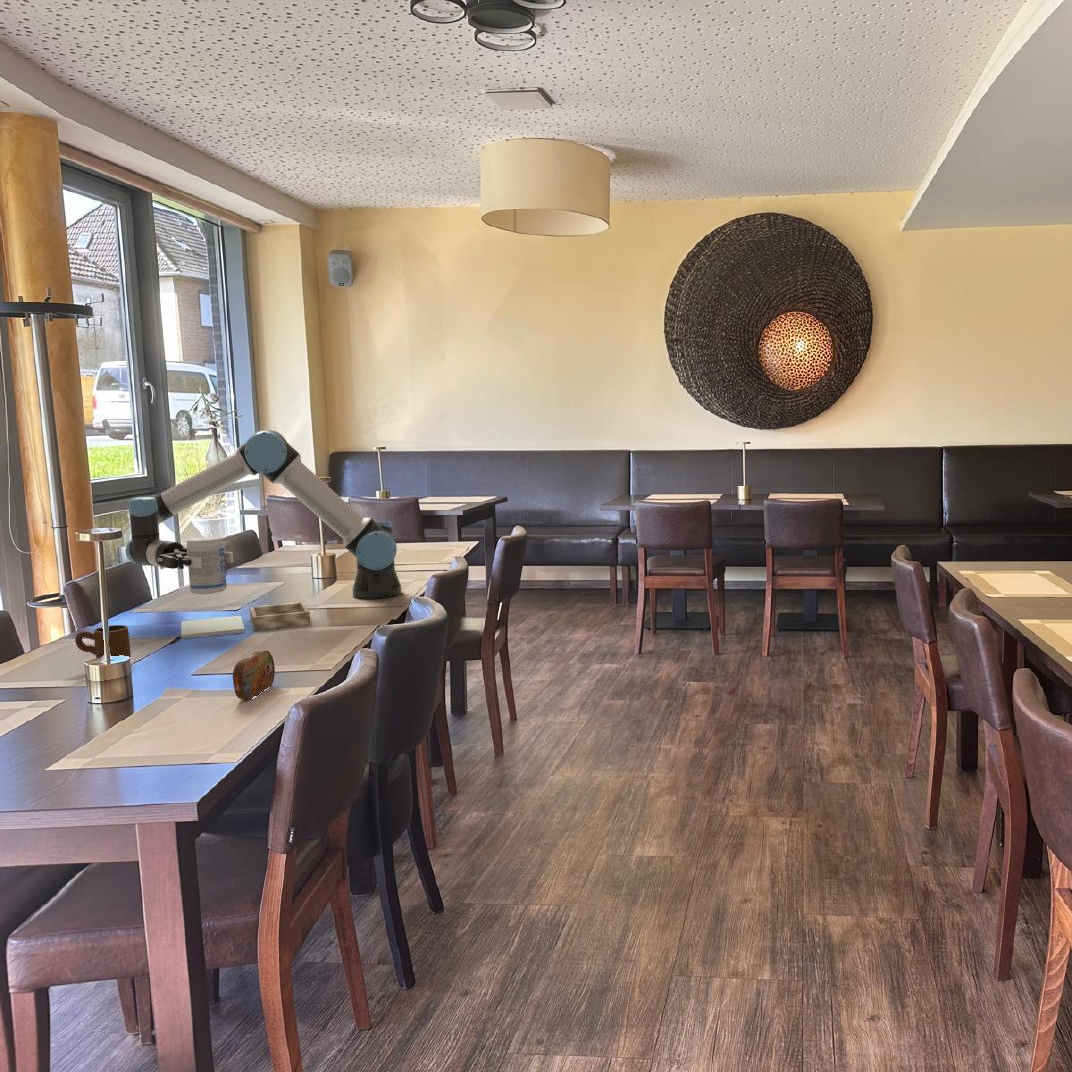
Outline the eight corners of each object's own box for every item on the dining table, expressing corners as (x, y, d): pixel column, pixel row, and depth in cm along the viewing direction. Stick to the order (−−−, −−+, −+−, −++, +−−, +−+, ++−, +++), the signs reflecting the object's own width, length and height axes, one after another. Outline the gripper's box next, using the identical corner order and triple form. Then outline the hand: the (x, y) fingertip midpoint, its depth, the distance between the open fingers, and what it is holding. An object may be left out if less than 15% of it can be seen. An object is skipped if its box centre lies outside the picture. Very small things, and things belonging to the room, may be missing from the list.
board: (241, 619, 291) (241, 615, 291) (244, 632, 274) (244, 628, 274) (181, 624, 286) (181, 621, 286) (181, 638, 269) (181, 634, 269)
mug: (72, 674, 237) (69, 634, 236) (83, 665, 244) (79, 627, 243) (126, 670, 238) (123, 631, 237) (135, 662, 246) (132, 623, 244)
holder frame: (304, 614, 295) (303, 602, 295) (310, 624, 281) (309, 611, 281) (250, 619, 290) (249, 607, 290) (253, 630, 276) (252, 617, 276)
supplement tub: (231, 592, 277) (227, 538, 275) (195, 596, 272) (191, 541, 270) (220, 587, 285) (217, 534, 283) (185, 591, 280) (181, 538, 278)
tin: (246, 704, 208) (243, 664, 207) (231, 704, 209) (228, 664, 207) (277, 684, 223) (274, 646, 222) (263, 683, 223) (261, 646, 222)
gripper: (201, 561, 297) (250, 567, 284) (132, 573, 280) (181, 580, 267) (199, 536, 296) (249, 541, 283) (130, 546, 279) (179, 552, 266)
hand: (216, 560), depth 275 cm, fingers closed on supplement tub, 9 cm apart
